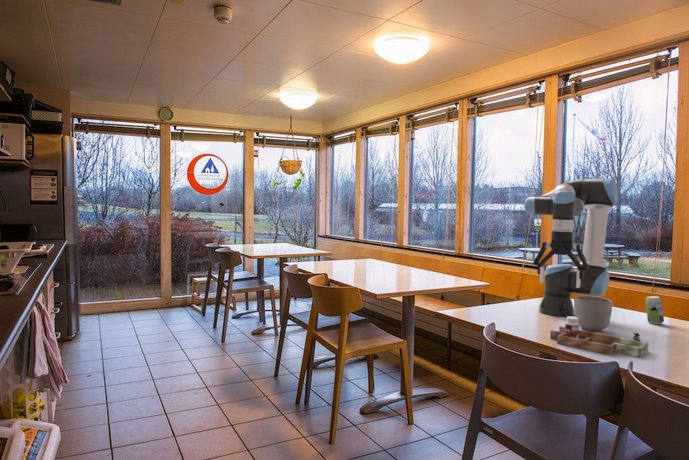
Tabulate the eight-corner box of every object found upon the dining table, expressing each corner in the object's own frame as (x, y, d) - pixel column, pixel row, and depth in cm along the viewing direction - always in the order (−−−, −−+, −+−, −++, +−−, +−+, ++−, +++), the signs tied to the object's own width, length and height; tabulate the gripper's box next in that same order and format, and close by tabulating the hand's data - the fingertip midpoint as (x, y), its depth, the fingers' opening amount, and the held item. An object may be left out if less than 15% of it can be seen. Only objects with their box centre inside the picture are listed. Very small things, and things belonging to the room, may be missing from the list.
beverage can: (666, 325, 204) (668, 298, 204) (647, 324, 206) (649, 297, 205) (659, 322, 210) (661, 295, 210) (641, 321, 212) (643, 294, 211)
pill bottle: (561, 337, 182) (563, 316, 181) (573, 337, 182) (574, 316, 182) (568, 341, 177) (569, 319, 176) (580, 341, 177) (582, 319, 177)
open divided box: (545, 340, 176) (545, 332, 176) (559, 333, 187) (560, 326, 187) (637, 360, 156) (637, 351, 155) (647, 351, 166) (648, 342, 166)
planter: (565, 327, 197) (566, 296, 196) (588, 324, 202) (590, 295, 202) (594, 336, 184) (596, 303, 184) (618, 333, 190) (620, 301, 189)
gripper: (526, 229, 189) (523, 281, 190) (595, 233, 173) (591, 290, 174) (533, 229, 195) (530, 280, 196) (600, 232, 178) (596, 288, 179)
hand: (559, 285), depth 185 cm, fingers open, 13 cm apart
